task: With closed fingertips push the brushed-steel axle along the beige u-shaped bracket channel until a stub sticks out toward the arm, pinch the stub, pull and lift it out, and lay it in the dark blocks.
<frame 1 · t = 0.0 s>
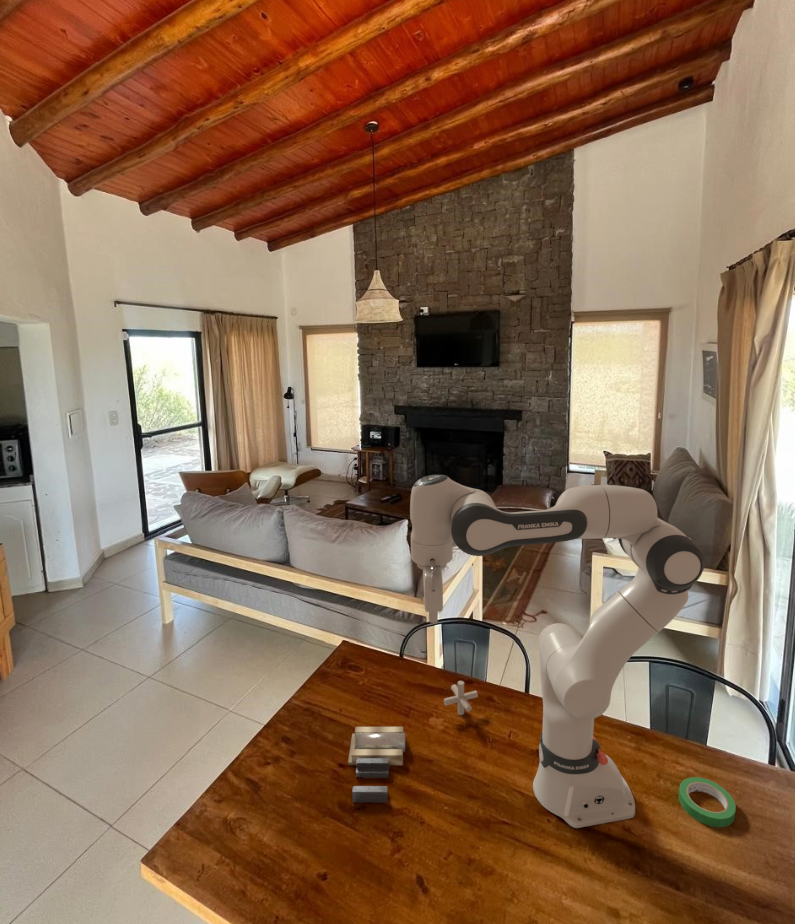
hand: (432, 609, 113), 48 cm above the table, fingers open, 8 cm apart
dark blocks: (371, 784, 126), on the table
pipe connector: (460, 713, 149), on the table
tape roll: (705, 807, 118), on the table
axle: (380, 742, 137), point 2 cm above the table, tilted 13°
beige u-shaped bracket: (378, 750, 137), on the table
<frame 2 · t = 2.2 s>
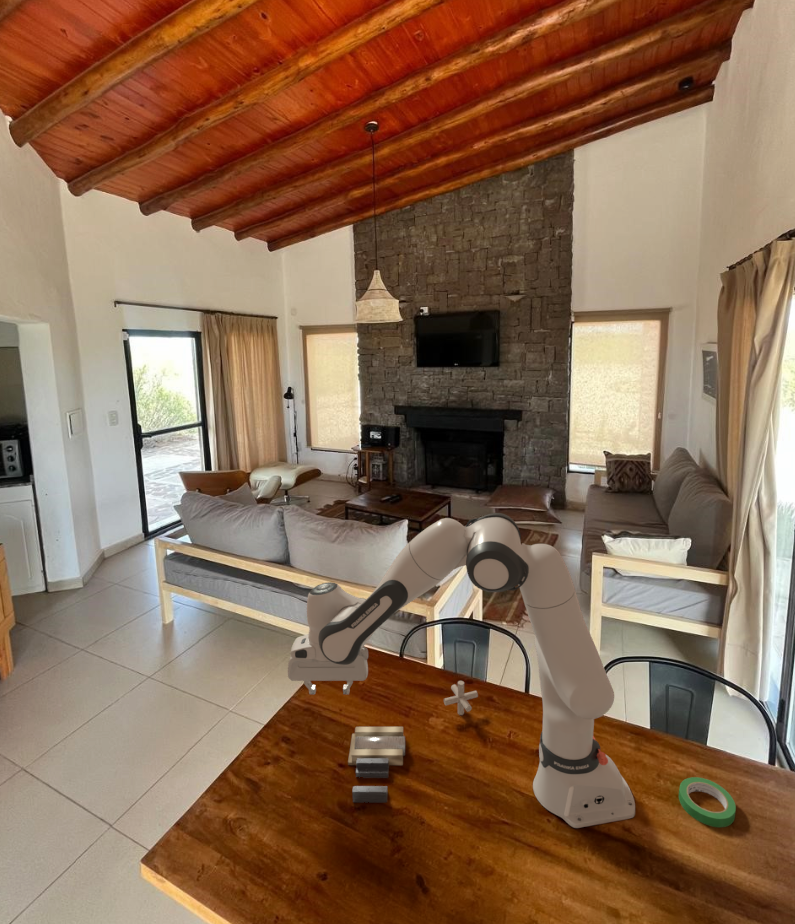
hand: (329, 692, 133), 18 cm above the table, fingers open, 7 cm apart
axle: (380, 745, 135), point 2 cm above the table, tilted 20°
everything else where it was.
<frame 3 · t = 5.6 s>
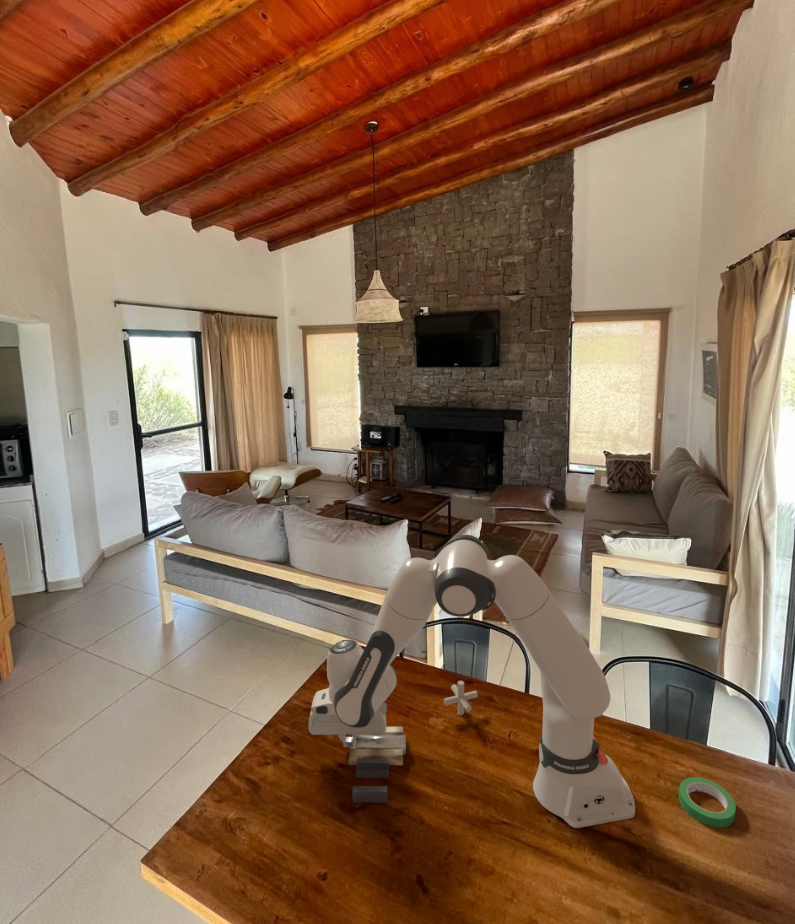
hand: (349, 745, 136), 1 cm above the table, fingers closed
axle: (380, 744, 136), point 2 cm above the table, tilted 15°, touching gripper
everything else where it was.
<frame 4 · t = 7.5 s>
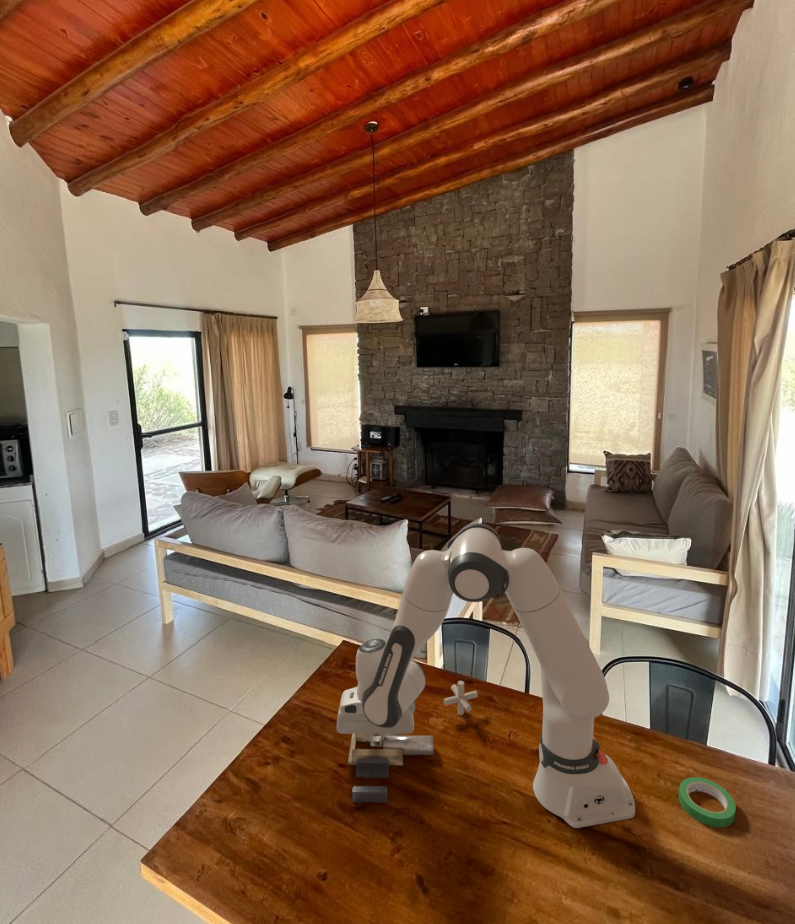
hand: (376, 744, 136), 2 cm above the table, fingers closed
axle: (408, 745, 135), point 2 cm above the table, tilted 14°, touching gripper
everything else where it was.
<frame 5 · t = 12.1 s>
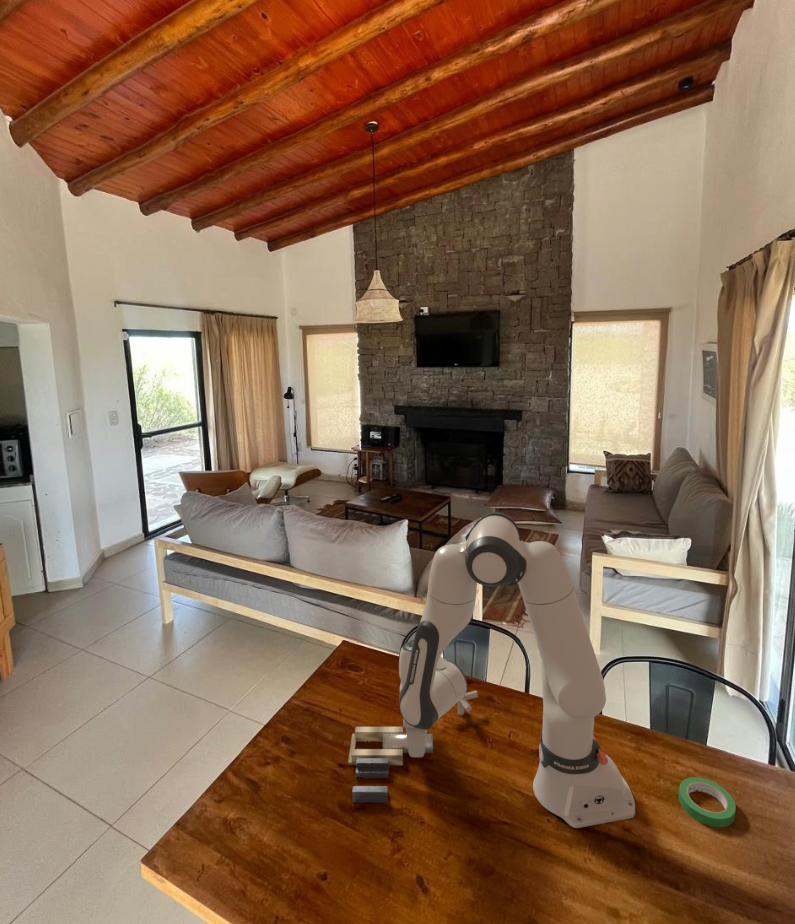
hand: (417, 744, 136), 2 cm above the table, fingers closed on axle, 4 cm apart
axle: (407, 743, 136), point 2 cm above the table, touching gripper
everything else where it was.
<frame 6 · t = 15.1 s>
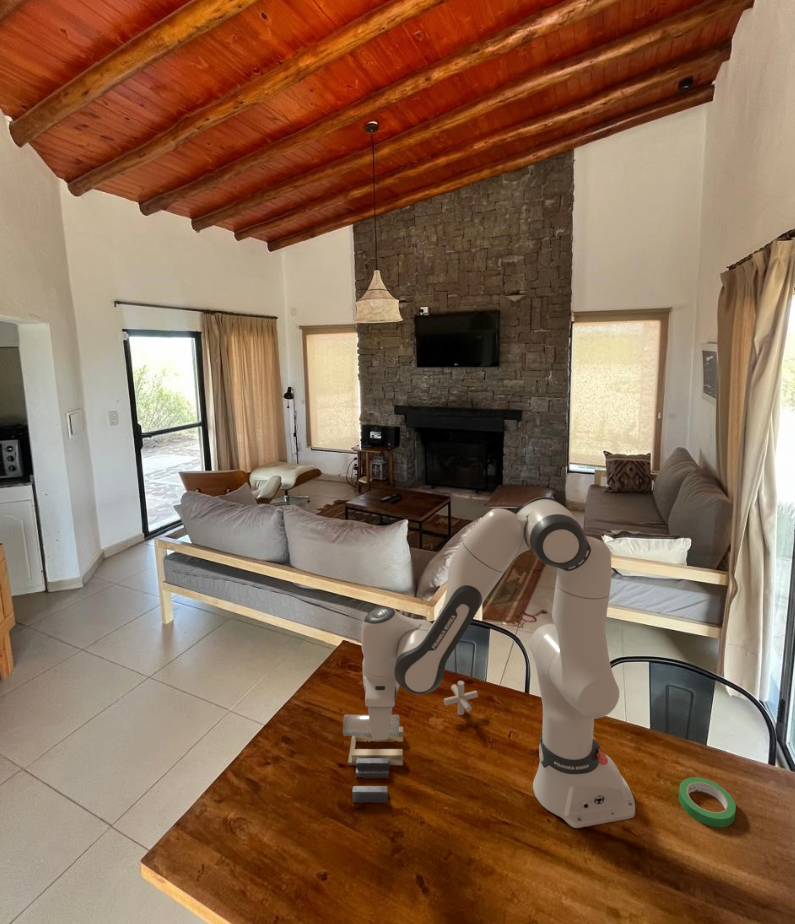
hand: (383, 727, 122), 16 cm above the table, fingers closed on axle, 4 cm apart
axle: (371, 725, 122), point 17 cm above the table, touching gripper
everything else where it was.
when the fingers open (4 cm above the table, at t = 17.7 s): axle drops 2 cm, resting on dark blocks.
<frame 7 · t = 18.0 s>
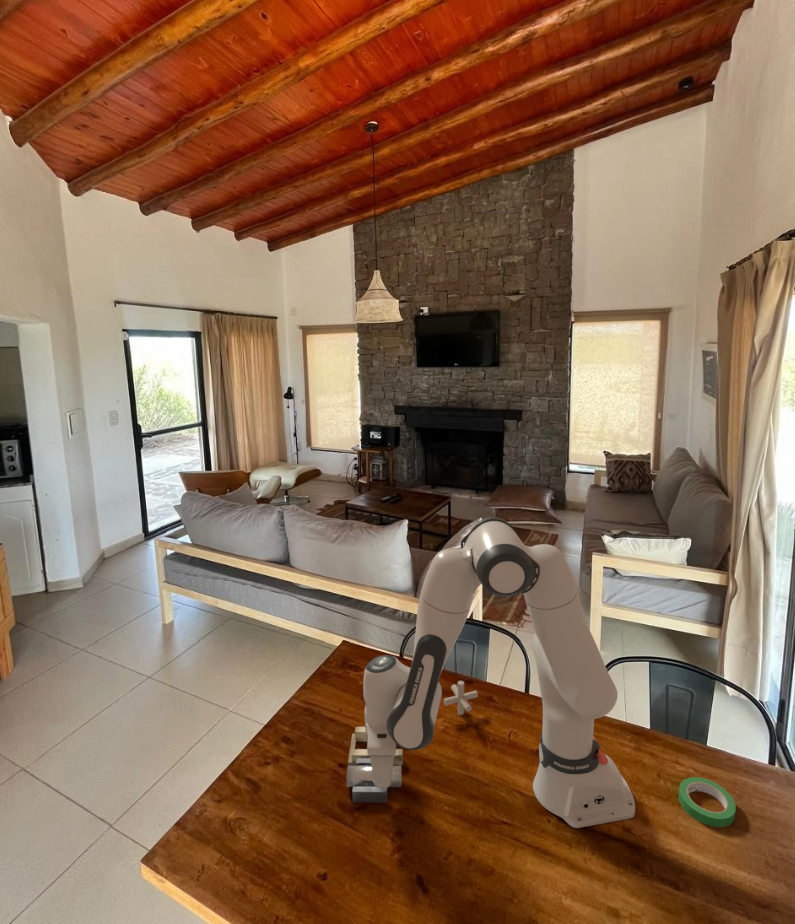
hand: (385, 770, 125), 4 cm above the table, fingers open, 7 cm apart
axle: (374, 776, 125), point 3 cm above the table, touching dark blocks
everything else where it was.
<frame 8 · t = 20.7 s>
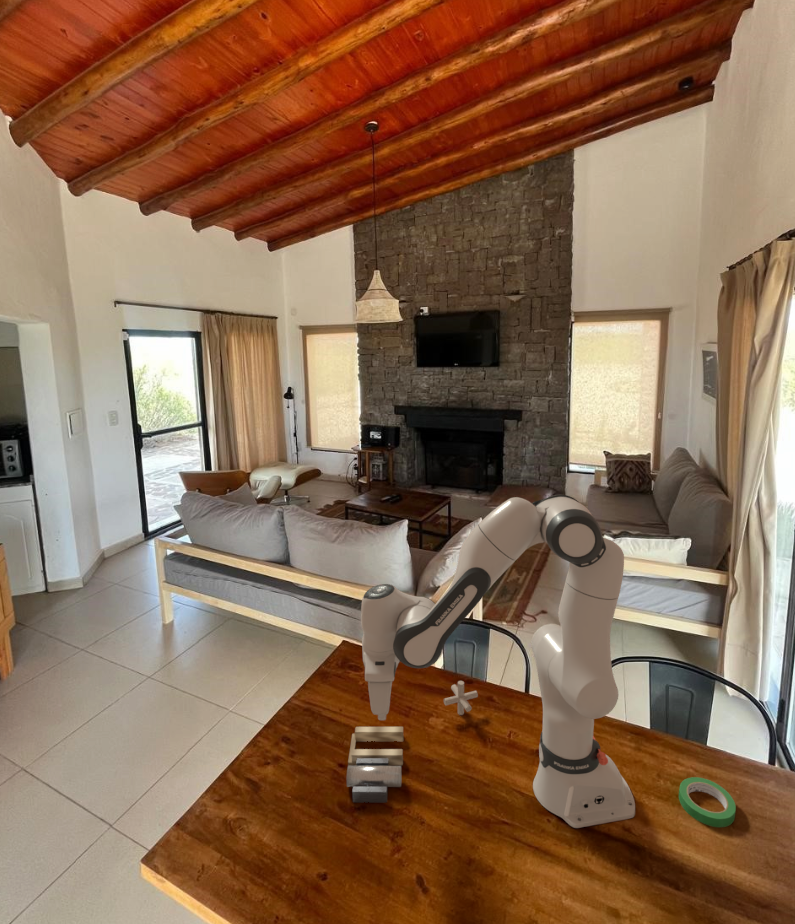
hand: (383, 704, 123), 21 cm above the table, fingers open, 8 cm apart
nothing on the table moved.
at the end: axle inside the target area on the dark blocks (0.8 cm from its centre), point 2.5 cm above the dark blocks's base; the gripper is holding nothing; axle moved 11.0 cm from its start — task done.
